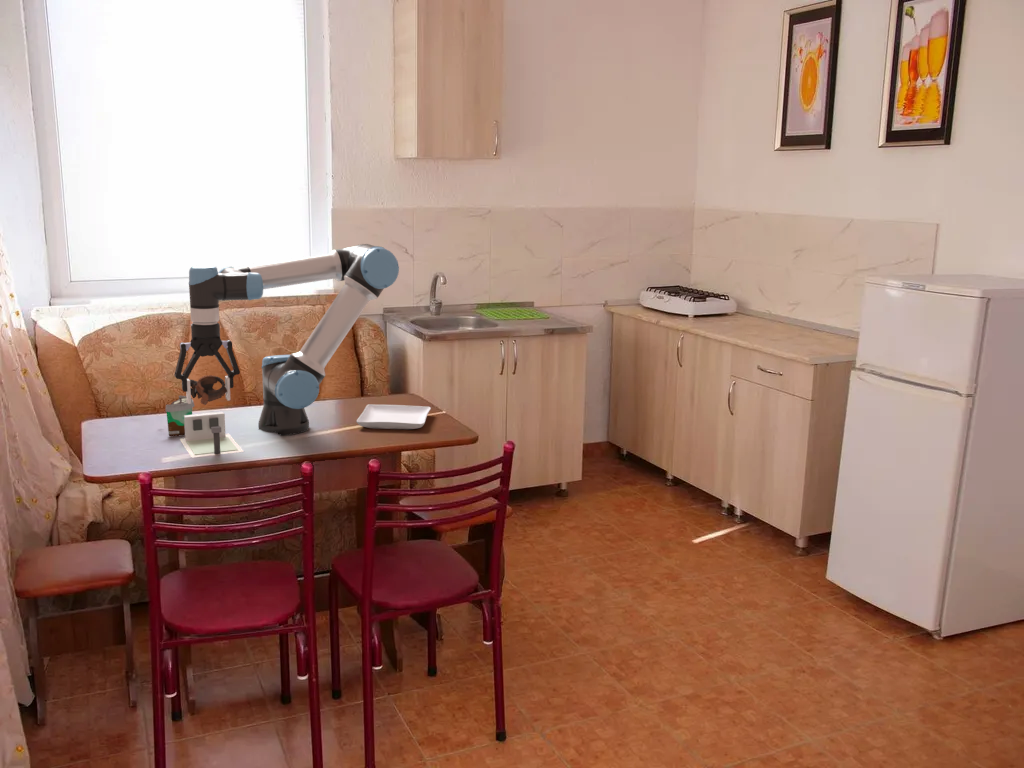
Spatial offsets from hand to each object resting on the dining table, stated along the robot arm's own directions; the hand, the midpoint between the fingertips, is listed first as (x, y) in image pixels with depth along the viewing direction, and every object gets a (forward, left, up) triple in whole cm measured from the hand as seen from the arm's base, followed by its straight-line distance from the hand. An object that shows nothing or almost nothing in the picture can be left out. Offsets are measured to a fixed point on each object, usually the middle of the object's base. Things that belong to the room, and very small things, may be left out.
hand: (208, 401), depth 261 cm
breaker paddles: (0, -8, -10) cm, 13 cm away
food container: (+4, -21, -14) cm, 26 cm away
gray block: (0, +8, -13) cm, 15 cm away
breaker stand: (0, -1, -14) cm, 14 cm away
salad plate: (-58, -7, -15) cm, 60 cm away
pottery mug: (0, -1, -1) cm, 1 cm away
